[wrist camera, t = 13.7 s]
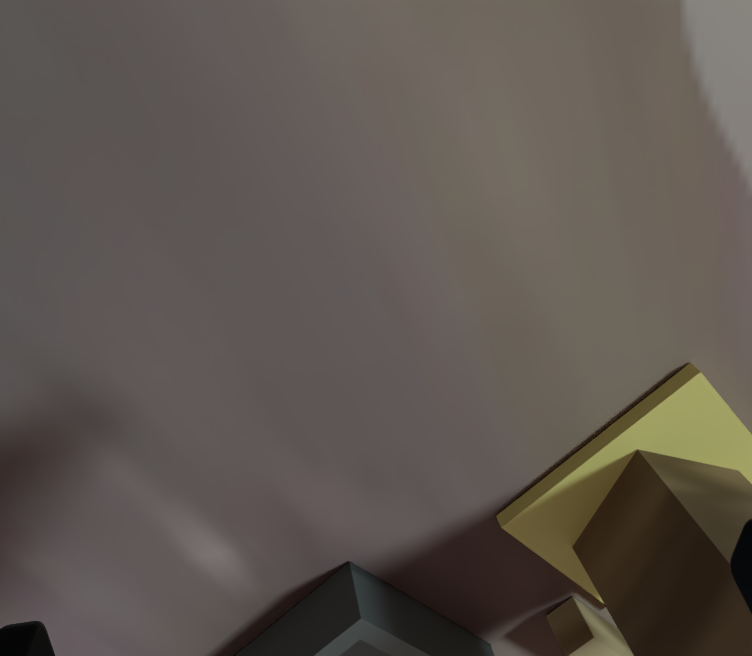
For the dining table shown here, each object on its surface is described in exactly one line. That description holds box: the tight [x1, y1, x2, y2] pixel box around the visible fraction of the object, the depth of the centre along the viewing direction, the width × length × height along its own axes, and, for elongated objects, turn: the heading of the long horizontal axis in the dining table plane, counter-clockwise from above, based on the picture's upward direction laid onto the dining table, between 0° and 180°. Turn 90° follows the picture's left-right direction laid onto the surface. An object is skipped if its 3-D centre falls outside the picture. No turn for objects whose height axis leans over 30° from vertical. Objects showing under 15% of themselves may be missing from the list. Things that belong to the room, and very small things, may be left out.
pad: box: [496, 363, 752, 603], centre depth 27 cm, size 9×9×1 cm
